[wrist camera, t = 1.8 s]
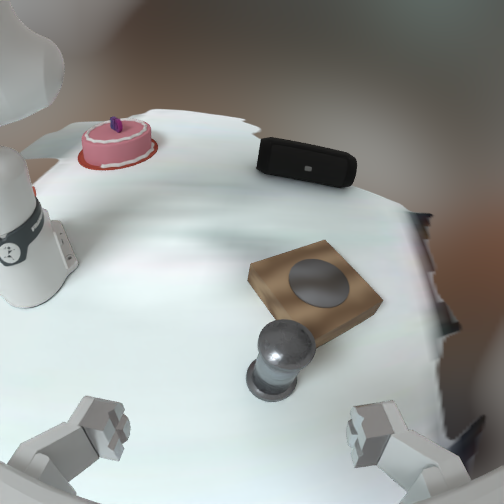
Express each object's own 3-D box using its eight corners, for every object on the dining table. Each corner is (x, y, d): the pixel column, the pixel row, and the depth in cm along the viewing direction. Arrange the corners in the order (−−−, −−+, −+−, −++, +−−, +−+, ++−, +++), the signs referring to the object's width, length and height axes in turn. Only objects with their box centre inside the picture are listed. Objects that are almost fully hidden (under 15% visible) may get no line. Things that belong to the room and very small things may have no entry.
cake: (173, 152, 84) (174, 118, 77) (96, 181, 69) (91, 143, 62) (133, 130, 95) (133, 101, 88) (68, 152, 80) (63, 121, 73)
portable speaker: (254, 178, 78) (260, 143, 71) (257, 162, 85) (262, 130, 78) (349, 196, 78) (360, 164, 72) (343, 178, 86) (353, 148, 79)
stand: (247, 280, 52) (250, 261, 49) (319, 255, 59) (325, 237, 56) (302, 355, 42) (310, 340, 39) (373, 314, 50) (384, 298, 47)
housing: (236, 369, 40) (245, 331, 33) (278, 350, 43) (295, 309, 36) (262, 410, 36) (278, 381, 29) (304, 387, 39) (329, 353, 32)
